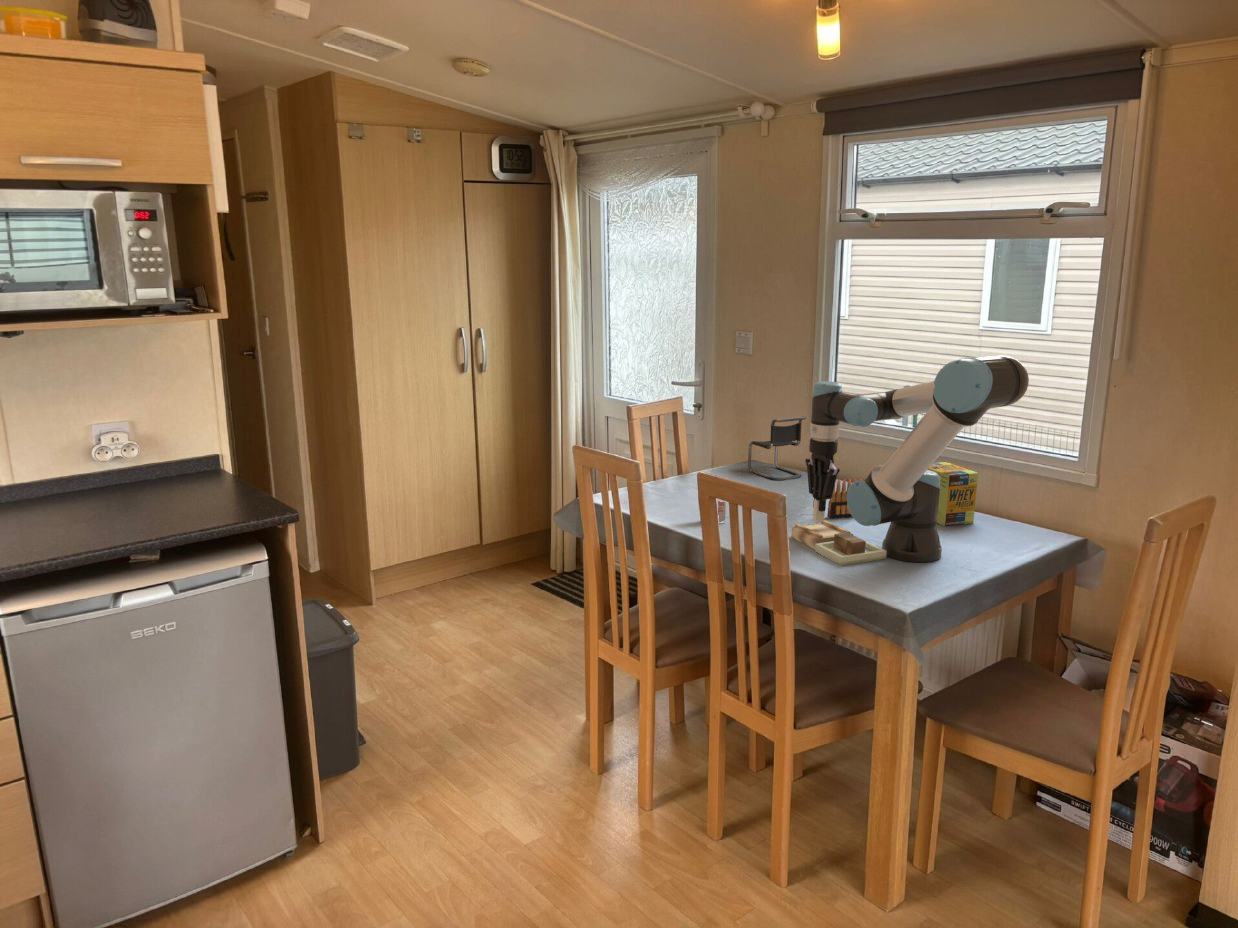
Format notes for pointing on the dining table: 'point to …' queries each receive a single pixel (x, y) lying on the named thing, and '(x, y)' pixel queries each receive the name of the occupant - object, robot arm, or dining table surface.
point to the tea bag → (721, 510)
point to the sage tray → (843, 559)
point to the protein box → (955, 494)
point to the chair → (780, 444)
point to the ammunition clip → (839, 501)
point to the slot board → (816, 533)
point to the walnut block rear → (840, 540)
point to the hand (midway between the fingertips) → (818, 521)
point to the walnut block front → (853, 546)
